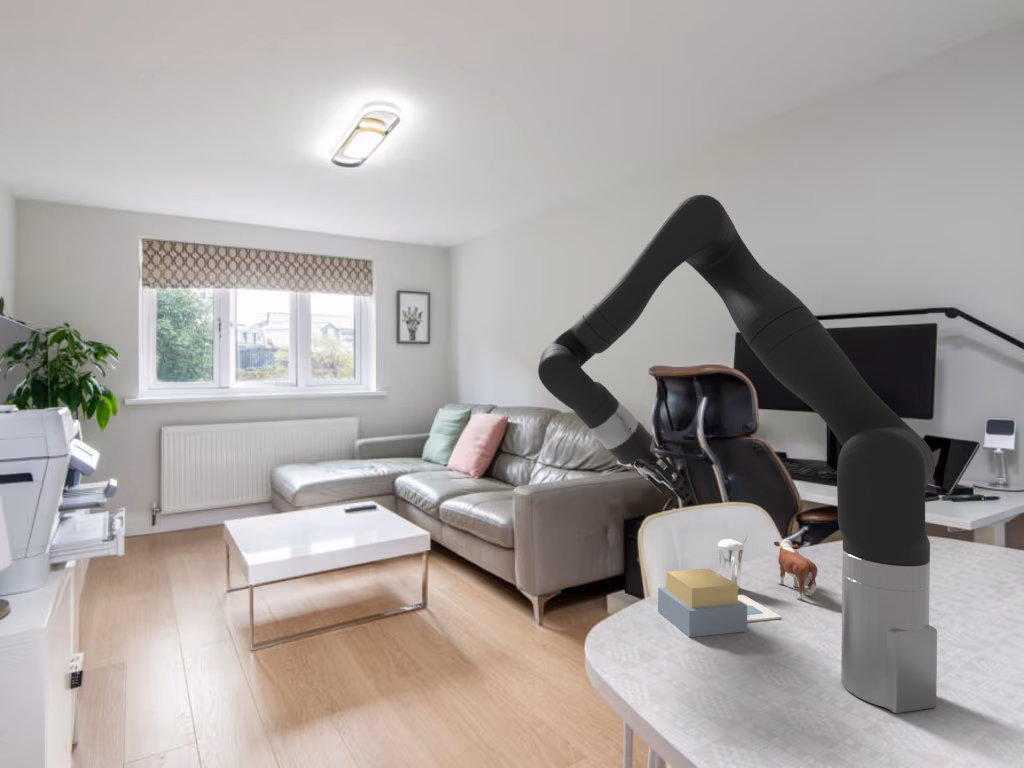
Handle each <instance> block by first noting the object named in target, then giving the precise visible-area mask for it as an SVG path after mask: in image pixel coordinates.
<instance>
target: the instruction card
mask: <svg viewBox="0 0 1024 768" xmlns="http://www.w3.org/2000/svg"><path fill="white" fill-rule="evenodd" d="M738 600H739V601H741V602H742V603H744V604H745V605H747V623H751V622H760V621H770V620H781V619H782V616H781V615H779V614H777V613H776V612H773V611H772V610H770V609H769V608H767V607H765V606H764V605H762V604H761V603H759V602H757V601H755V600H753V599H752V598H750V597H748V596H747V595H745V594H738Z"/></svg>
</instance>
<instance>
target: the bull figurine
mask: <svg viewBox="0 0 1024 768" xmlns="http://www.w3.org/2000/svg"><path fill="white" fill-rule="evenodd" d="M773 544H774V545H773V546H775V547H780V548H779V554H778V555H779V556H778V558H777V559H778V565H779V570H780V571H779V577H780V578H779V580H778V582H777V585H782V586H783V585H784V582H785V581H784V579H785V576H786V573H787V575H789V576H790V577H792V578H793V582H792V587H793V588H798V590H799V593H798V595H797V597H796V599H797V600H799V601H802V600H803V599H804V595H805V596H808V597H809V596H810V597H811V596H813V594H814V593H815V592H816V589H817V582H816V578H817V576H818V575H817V574H818V567H817V565H816V564H815V563H814V562H812V561H811V560H810V559H809V558H807V557H805V556H803V555H802V554H800V553H799V551H797V550H799V549H800V546H799V545H798V544H793V541H791V540H789V539H786V538H785V539H783V540H782V541H781V542H780V541H774V542H773ZM805 587H807V590H806V591H805V593H804V590H805Z"/></svg>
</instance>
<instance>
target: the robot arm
mask: <svg viewBox="0 0 1024 768" xmlns="http://www.w3.org/2000/svg"><path fill="white" fill-rule="evenodd" d="M683 263H687V264H688V265H689V266H690V267H692V268H693V270H695V271H696V272H697V273H698V274H699V276H701V277H702V278H703V279H704V280H705V282H707V284H709V286H711V287H712V289H713V290H714V291H715V292H716V293H717V295H719V297H720V298H721V300H722V301H723V303H724V305H725V307H726V309H727V311H728V314H730V315H729V316H730V317H731V319H732V321H733V323H734V324H735V326H736V328H737V330H738V331H739V333H740V335H741V336H742V338H743V339H744V341H745V342H746V344H747V345H748V347H750V349H751V350H752V352H753V353H754V354H755V356H756V357H757V358H758V359H759V361H760V362H761V363H762V365H763V366H764V367H765V368H766V369H767V370H768V372H769V373H770V374H771V375H772V376H773V377H774V378H775V379H776V380H777V381H778V382H780V383H781V384H782V385H783V386H784V387H785V388H786V389H788V390H789V391H790V392H792V394H794V395H795V396H796V397H797V398H798V399H800V400H801V401H802V402H803V403H805V404H806V405H807V406H809V408H811V409H812V410H813V411H814V412H815V413H816V414H817V415H818V416H819V417H820V418H821V419H822V420H823V421H824V422H825V424H826V425H827V426H828V427H829V429H830V430H831V432H832V433H833V434H834V436H835V437H836V439H837V440H838V442H839V443H840V445H841V446H842V447H841V449H840V453H839V454H838V460H837V469H836V471H837V472H836V473H837V474H836V485H837V489H836V491H837V494H836V495H837V496H836V497H837V499H836V500H837V501H836V502H837V522H838V528H839V530H840V533H841V537H842V572H841V573H842V574H841V576H842V577H841V578H842V579H841V581H842V582H841V646H840V647H841V649H840V651H841V658H840V659H841V666H840V667H841V674H840V675H841V676H840V678H841V679H840V680H841V681H840V682H841V683H842V685H843V687H844V688H845V689H846V690H847V691H848V692H850V693H851V694H852V695H854V696H855V697H857V698H859V699H861V700H863V701H865V702H867V703H869V704H870V703H871V704H873V705H875V706H878V707H879V706H880V707H883V708H884V709H885V708H886V709H887V710H889V711H891V712H892V713H895V714H899V713H901V714H902V713H905V712H912V711H919V710H925V709H926V710H927V709H932V708H937V692H938V689H937V687H938V686H937V685H938V683H937V681H938V680H937V679H938V678H937V677H938V631H937V628H936V627H934V626H932V625H930V584H931V582H930V578H931V576H930V575H931V571H930V570H931V569H930V566H931V562H930V561H931V541H930V539H929V538H928V534H927V527H926V526H927V525H926V487H927V486H928V485H929V484H930V482H931V481H932V480H933V477H934V475H935V470H936V468H935V467H936V463H935V458H934V457H935V456H934V454H933V451H932V449H931V447H930V446H929V445H928V443H927V442H926V440H925V439H924V438H922V436H920V434H918V433H917V432H916V431H915V430H914V429H913V428H912V427H911V426H910V425H908V424H907V422H905V421H904V420H903V419H902V417H900V416H899V415H898V414H897V413H896V412H895V411H894V410H892V408H890V407H889V405H888V404H886V403H885V402H884V400H883V399H882V398H880V396H879V395H878V394H877V393H876V392H875V391H874V390H872V388H871V387H870V385H868V384H867V382H866V381H865V379H863V377H862V376H861V374H860V373H859V371H858V369H856V367H855V366H854V364H853V363H852V361H851V360H850V359H849V357H848V356H847V355H846V353H845V352H844V351H843V350H842V348H841V347H840V346H839V344H838V343H837V342H836V341H835V340H834V338H833V336H832V335H831V334H830V333H829V332H828V331H827V329H826V328H825V327H824V326H823V324H822V323H821V321H820V320H819V319H818V318H817V316H815V315H814V313H813V312H812V311H811V310H810V309H809V308H808V306H806V304H805V303H804V302H803V301H802V300H801V299H800V298H799V297H798V296H797V295H796V294H795V293H794V292H792V291H791V290H790V289H789V288H787V286H785V285H784V284H783V283H782V282H780V280H778V279H776V278H775V277H774V276H772V275H771V274H770V273H769V272H767V271H766V270H765V269H764V267H763V266H762V265H761V264H760V263H759V262H758V261H757V259H756V258H755V257H754V256H753V254H752V253H751V251H750V249H749V247H748V246H746V244H745V242H744V241H743V239H742V238H741V235H740V234H739V232H738V231H737V229H736V225H735V224H734V223H733V220H732V219H731V217H730V216H729V214H728V212H727V211H726V209H725V207H724V206H723V204H722V203H721V202H720V201H719V200H718V199H717V198H715V197H714V196H711V195H708V194H696V195H692V196H689V197H687V198H685V199H683V200H682V201H681V202H679V203H678V204H677V205H676V206H675V207H674V208H673V209H672V211H671V212H670V213H669V214H668V215H667V217H666V218H665V219H664V220H663V222H662V223H661V224H660V226H659V227H658V228H657V230H656V231H655V233H653V235H652V236H651V238H650V239H649V241H648V242H647V243H646V244H645V246H644V247H643V248H642V249H641V251H640V252H639V253H638V255H637V256H636V257H635V258H634V260H633V261H632V262H631V264H630V265H629V266H628V267H627V268H626V270H625V271H624V272H623V273H622V275H621V276H619V278H618V279H617V280H616V282H615V283H614V284H613V285H612V286H611V287H610V288H609V289H608V290H607V291H606V292H605V293H604V294H603V295H602V296H601V297H600V298H599V299H598V300H597V301H596V302H595V303H594V304H593V305H592V306H591V307H590V308H589V309H587V311H585V313H583V315H582V316H581V317H580V318H579V319H578V320H577V321H576V322H575V323H574V324H573V325H572V326H571V327H568V329H566V330H565V331H564V332H562V333H561V334H560V335H559V336H558V337H556V338H555V339H554V340H553V341H552V342H551V343H550V344H548V346H547V347H546V348H545V349H544V350H543V352H542V354H541V356H540V360H539V364H538V369H537V372H538V373H537V374H538V377H539V380H540V382H541V383H542V385H543V387H544V388H545V389H547V391H548V393H550V394H551V395H552V396H554V398H555V399H557V400H559V401H560V402H561V403H562V404H564V405H565V406H566V407H568V408H569V409H571V410H572V411H574V413H575V414H576V415H577V417H578V418H579V419H580V421H582V422H583V423H584V424H585V426H587V427H588V429H590V431H591V432H592V434H593V435H594V437H595V438H596V439H597V440H598V441H599V442H600V443H601V444H602V446H603V447H605V448H606V450H607V451H608V452H609V453H610V454H611V455H612V456H613V457H614V459H616V461H617V462H618V463H620V464H621V465H625V466H626V465H630V466H631V467H632V468H633V469H634V470H635V472H636V473H637V474H638V476H641V477H643V478H644V479H645V480H647V481H649V482H650V483H651V484H652V485H653V486H654V488H656V490H657V491H659V493H661V494H665V493H666V492H667V490H669V489H670V490H671V491H672V492H673V493H674V494H675V495H676V496H677V497H678V498H679V500H680V501H681V502H682V503H685V504H688V503H689V502H690V501H691V500H692V499H693V498H694V493H693V492H692V491H691V490H690V489H689V488H688V487H687V485H686V484H685V483H684V481H685V480H686V478H685V477H684V475H682V474H681V473H680V472H679V471H678V470H677V469H676V467H675V466H674V465H673V464H672V463H671V462H670V461H669V460H668V459H667V457H666V456H665V455H663V454H661V455H660V454H658V453H657V452H656V451H652V450H651V446H652V444H653V436H652V434H651V433H650V432H649V431H648V430H647V429H646V427H644V425H642V423H641V422H639V420H638V419H637V418H636V416H634V415H633V414H632V412H630V410H628V408H627V407H626V406H624V405H623V404H621V403H620V401H619V400H618V399H617V398H616V397H615V396H614V395H613V394H612V392H611V391H609V389H607V387H605V386H604V385H603V383H601V382H600V381H595V380H593V379H592V377H591V376H589V375H588V373H586V371H584V369H583V368H582V366H584V364H585V363H587V362H588V361H589V360H590V359H591V358H593V357H594V356H595V355H596V354H602V353H604V352H605V351H606V350H608V349H609V348H610V347H611V346H612V345H613V344H615V343H616V342H617V340H619V339H620V338H621V337H622V336H623V335H624V334H625V333H626V332H627V331H628V330H630V328H632V326H633V325H634V324H635V322H636V321H637V320H638V319H639V318H640V316H641V315H642V313H644V312H643V311H644V310H645V308H646V307H647V305H648V304H649V302H650V300H651V299H652V297H653V295H654V293H656V292H657V290H658V288H659V287H660V285H661V284H663V282H664V281H665V280H666V278H668V277H669V275H670V274H671V273H672V272H673V271H675V270H676V269H677V268H678V267H679V266H681V265H682V264H683ZM671 477H673V479H671Z"/></svg>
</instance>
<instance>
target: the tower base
mask: <svg viewBox="0 0 1024 768" xmlns="http://www.w3.org/2000/svg"><path fill="white" fill-rule="evenodd" d="M738 595H739V590H738V584H736V583H734V582H732V581H731V580H729V579H727V578H725V577H724V576H722V575H721V573H718V572H716V571H715V570H713V569H711V568H697V569H685V570H683V569H682V570H672V571H671V570H669V571H666V586H665V587H664V586H662V587H658V588H657V612H658V613H660V615H661V616H663V617H665V619H666V620H667V621H669V622H670V623H671V624H672V625H674V626H675V627H676V628H677V629H679V630H680V631H681V632H682V633H683V634H685V635H686V636H687V637H688V638H694V637H704V636H713V635H715V636H716V635H722V634H732V633H733V634H734V633H743V632H748V622H747V605H745V604H744V603H742V602H741V601H739V600H738Z"/></svg>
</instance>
